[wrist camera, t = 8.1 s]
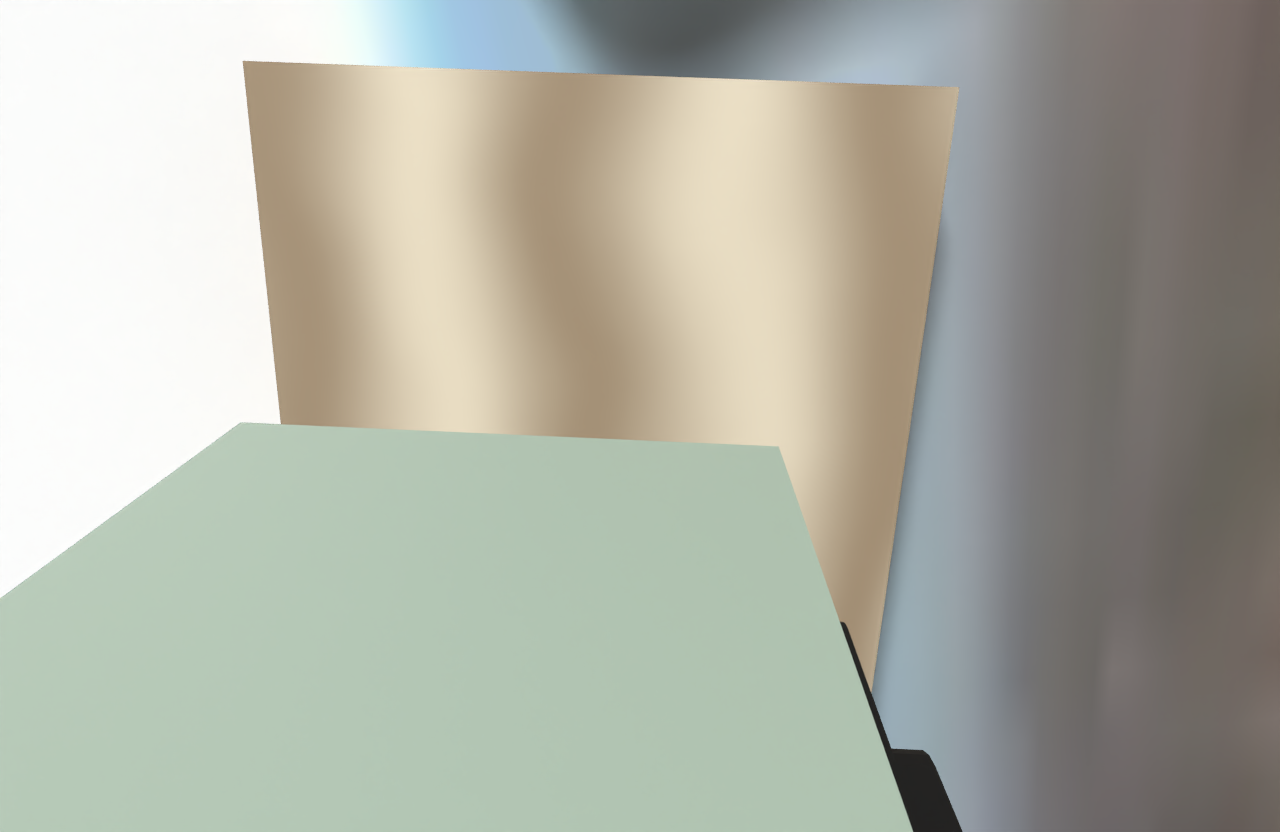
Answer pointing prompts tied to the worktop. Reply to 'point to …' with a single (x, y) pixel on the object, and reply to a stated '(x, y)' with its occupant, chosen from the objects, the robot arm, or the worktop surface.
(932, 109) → the birch block
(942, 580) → the worktop surface
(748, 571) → the sage cube
